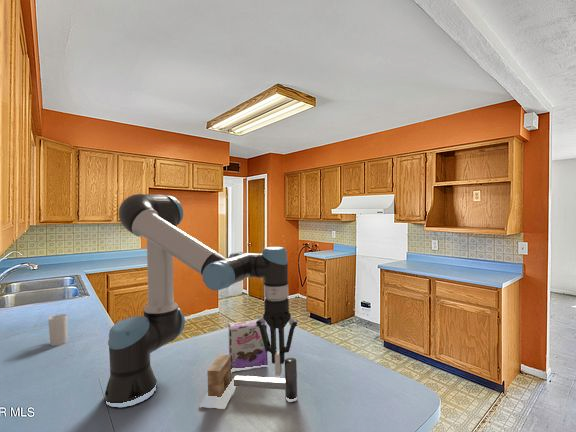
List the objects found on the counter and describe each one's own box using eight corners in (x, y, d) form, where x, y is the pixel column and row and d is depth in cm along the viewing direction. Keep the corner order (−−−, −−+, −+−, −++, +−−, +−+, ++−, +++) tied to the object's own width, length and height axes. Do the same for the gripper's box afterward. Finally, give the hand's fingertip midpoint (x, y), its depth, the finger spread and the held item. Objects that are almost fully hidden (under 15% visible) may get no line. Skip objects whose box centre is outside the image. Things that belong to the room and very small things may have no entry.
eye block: (199, 407, 94) (198, 373, 93) (216, 381, 107) (216, 351, 107) (224, 409, 92) (223, 375, 92) (239, 383, 106) (238, 352, 106)
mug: (71, 341, 143) (70, 315, 143) (55, 347, 137) (53, 320, 137) (58, 337, 147) (57, 312, 147) (42, 343, 141) (41, 317, 141)
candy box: (230, 373, 112) (229, 328, 112) (229, 365, 118) (227, 322, 118) (268, 367, 116) (267, 323, 116) (265, 360, 122) (263, 318, 121)
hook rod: (233, 398, 97) (232, 360, 97) (237, 391, 101) (235, 354, 101) (296, 402, 94) (295, 363, 94) (297, 395, 98) (297, 358, 98)
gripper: (252, 301, 93) (254, 378, 94) (295, 301, 91) (297, 381, 92) (258, 293, 101) (260, 366, 101) (298, 294, 99) (300, 368, 99)
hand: (278, 373), depth 97 cm, fingers closed
